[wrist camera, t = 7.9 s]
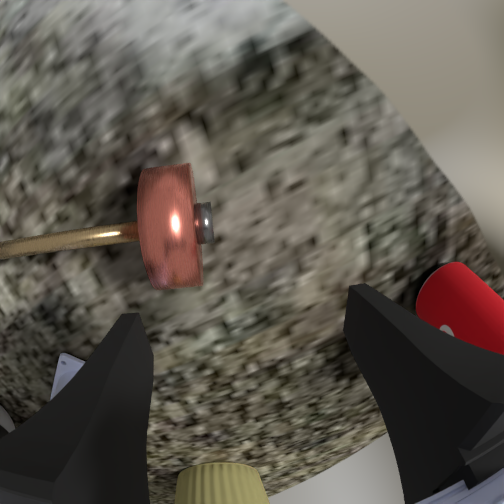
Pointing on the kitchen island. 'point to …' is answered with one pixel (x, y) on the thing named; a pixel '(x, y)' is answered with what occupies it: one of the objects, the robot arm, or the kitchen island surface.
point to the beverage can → (463, 307)
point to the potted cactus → (220, 485)
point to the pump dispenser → (5, 423)
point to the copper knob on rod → (146, 230)
